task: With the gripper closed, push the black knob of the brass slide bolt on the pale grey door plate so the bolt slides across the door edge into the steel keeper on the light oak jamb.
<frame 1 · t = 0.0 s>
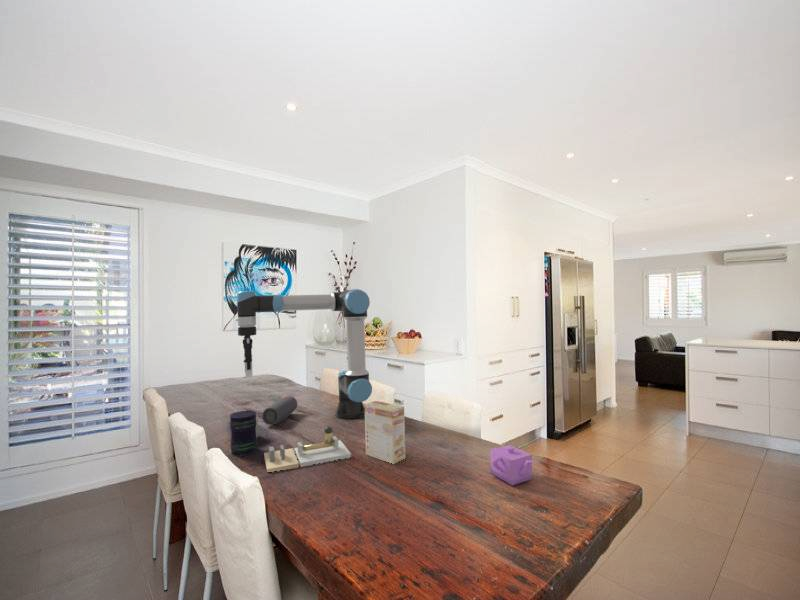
hand: (248, 374, 172), 28 cm above the table, tool pointing down, fingers open, 13 cm apart
door lock: (307, 457, 150), on the table
purple knobbed block: (511, 480, 127), on the table
planter: (245, 439, 172), on the table
bolt: (318, 438, 152), point 6 cm above the table, slide at 0.0 cm
bluetooth speaker: (280, 420, 198), on the table
dark blue barrel: (244, 451, 158), on the table
coffeecake box: (385, 457, 148), on the table
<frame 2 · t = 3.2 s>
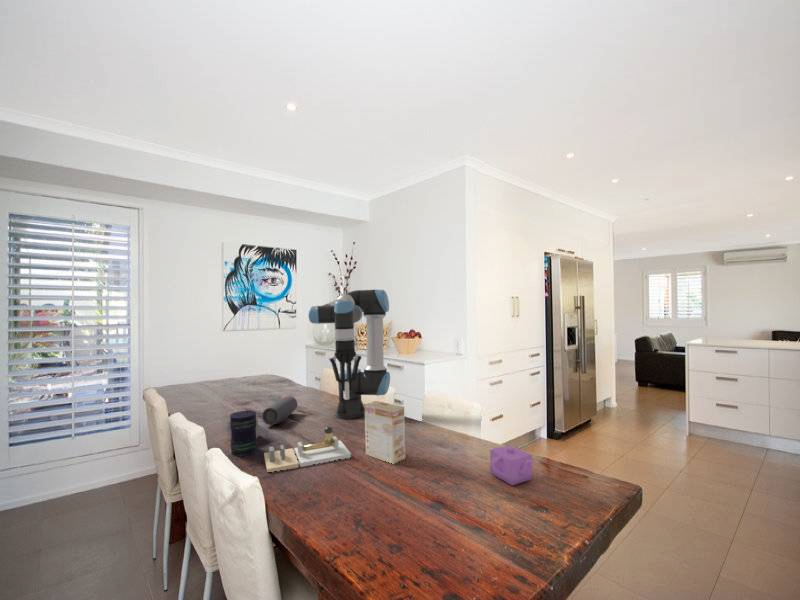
hand: (346, 398, 156), 20 cm above the table, tool pointing down, fingers closed
nothing on the table moved.
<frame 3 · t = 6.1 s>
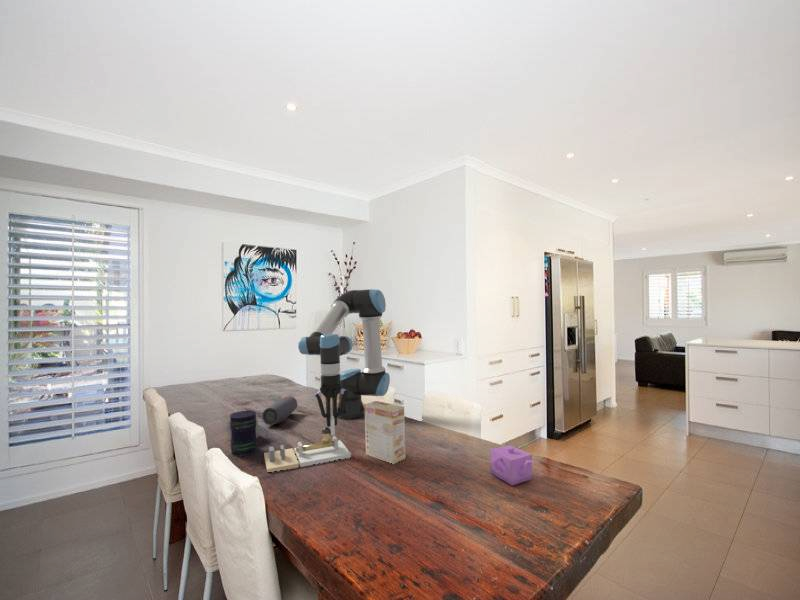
hand: (332, 434, 154), 7 cm above the table, tool pointing down, fingers closed
bolt: (316, 438, 151), point 6 cm above the table, slide at 1.0 cm, touching gripper
everything else where it was.
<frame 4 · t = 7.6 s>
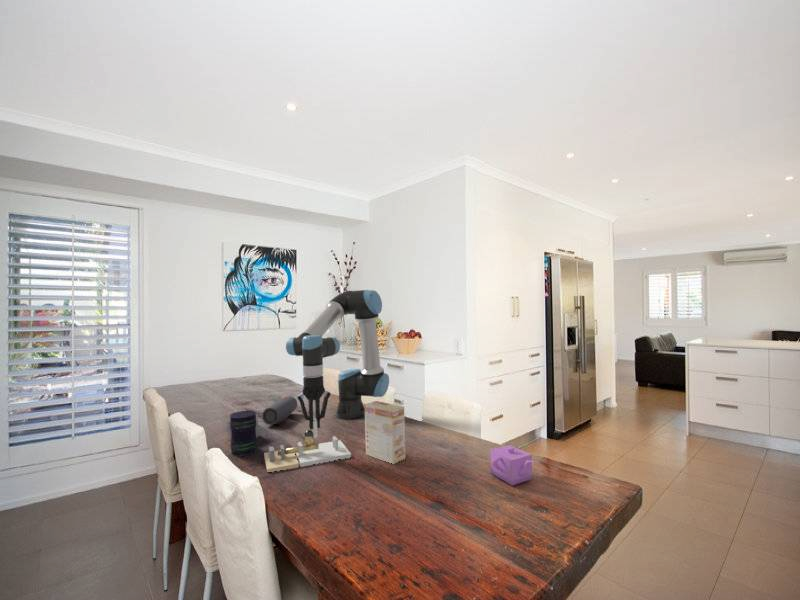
hand: (314, 436, 151), 7 cm above the table, tool pointing down, fingers closed
bolt: (298, 441, 149), point 6 cm above the table, slide at 7.7 cm, touching gripper
everything else where it was.
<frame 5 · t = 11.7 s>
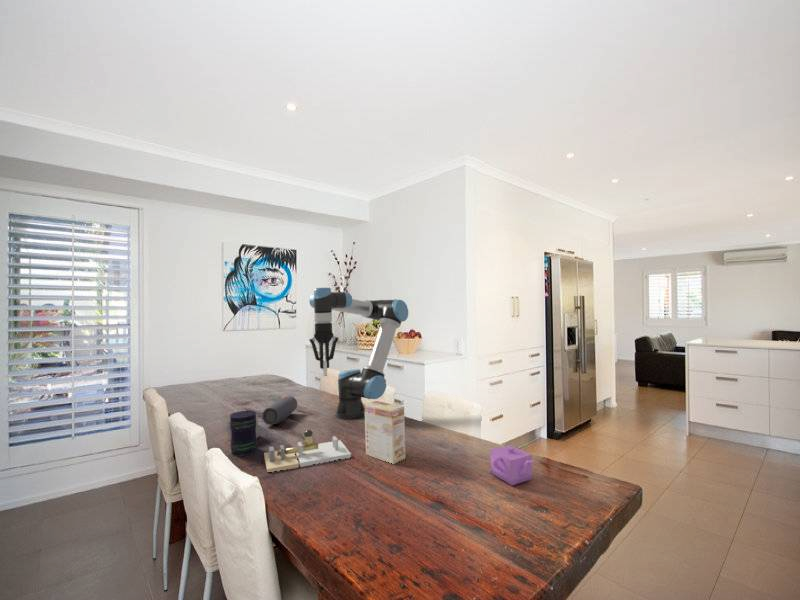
hand: (324, 375, 174), 26 cm above the table, tool pointing down, fingers closed
bolt: (297, 441, 149), point 6 cm above the table, slide at 7.8 cm
everything else where it was.
at the end: bolt slide at 7.8 cm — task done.
